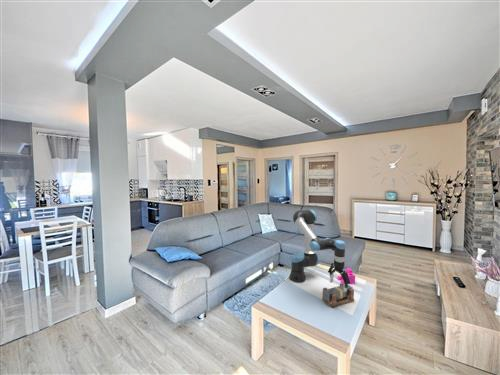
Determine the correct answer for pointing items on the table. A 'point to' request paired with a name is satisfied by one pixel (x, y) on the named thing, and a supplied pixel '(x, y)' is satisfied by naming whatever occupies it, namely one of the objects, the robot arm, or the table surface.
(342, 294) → the grey metal bar
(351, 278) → the bracket
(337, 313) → the table surface
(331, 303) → the stove stand
